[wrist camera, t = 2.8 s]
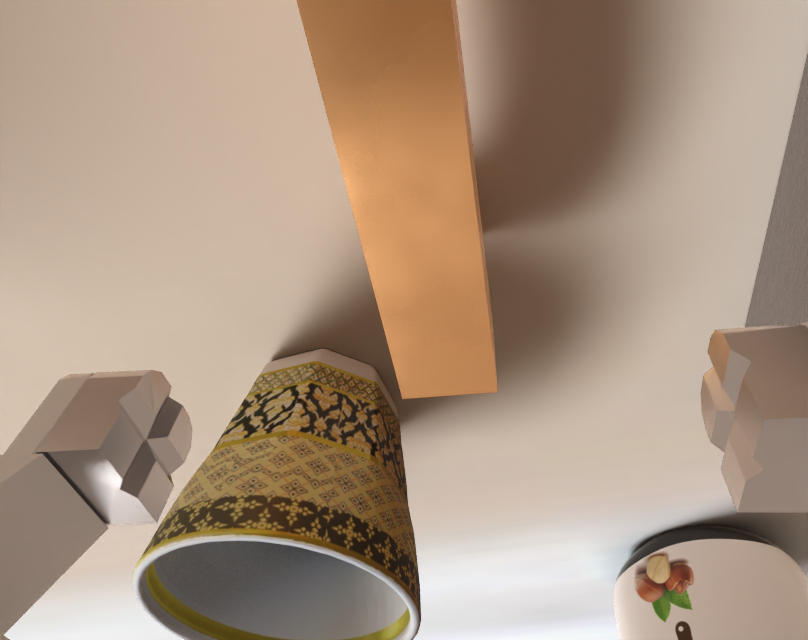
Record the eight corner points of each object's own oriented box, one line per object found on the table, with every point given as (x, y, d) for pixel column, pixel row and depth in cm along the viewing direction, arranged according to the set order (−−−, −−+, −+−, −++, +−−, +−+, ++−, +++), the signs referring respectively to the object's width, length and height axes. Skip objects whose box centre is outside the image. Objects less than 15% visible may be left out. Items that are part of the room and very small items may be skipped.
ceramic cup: (250, 286, 24) (155, 500, 17) (468, 368, 27) (473, 592, 19) (189, 459, 32) (106, 658, 25) (362, 511, 34) (334, 710, 27)
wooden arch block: (488, 256, 23) (497, 392, 17) (415, 264, 23) (402, 399, 18) (439, -188, 15) (428, -189, 9) (329, -161, 15) (257, -148, 10)
